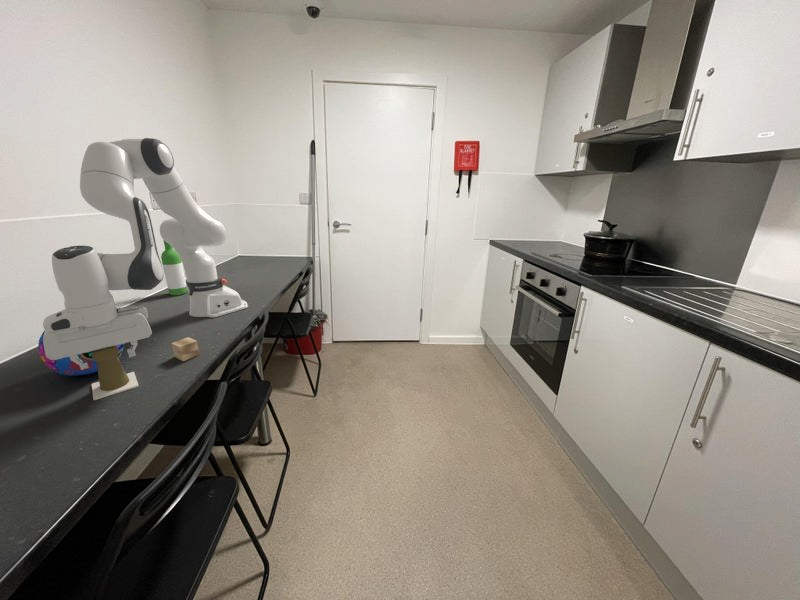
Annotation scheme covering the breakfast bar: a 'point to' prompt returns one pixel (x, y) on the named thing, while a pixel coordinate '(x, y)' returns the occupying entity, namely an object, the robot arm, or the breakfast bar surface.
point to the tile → (101, 393)
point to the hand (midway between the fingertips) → (109, 361)
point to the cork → (109, 368)
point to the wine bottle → (173, 271)
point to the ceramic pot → (67, 365)
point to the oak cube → (185, 349)
